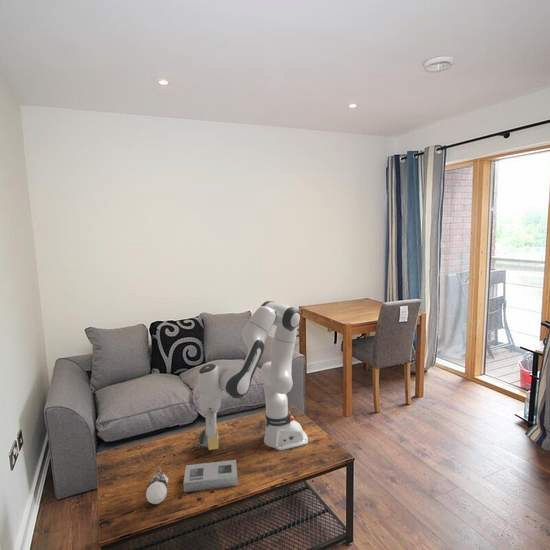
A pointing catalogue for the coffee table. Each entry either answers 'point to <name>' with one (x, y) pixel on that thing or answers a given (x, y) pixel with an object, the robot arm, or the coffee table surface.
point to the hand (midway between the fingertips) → (212, 434)
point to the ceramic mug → (204, 439)
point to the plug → (212, 440)
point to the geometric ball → (156, 492)
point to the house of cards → (159, 478)
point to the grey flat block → (210, 475)
